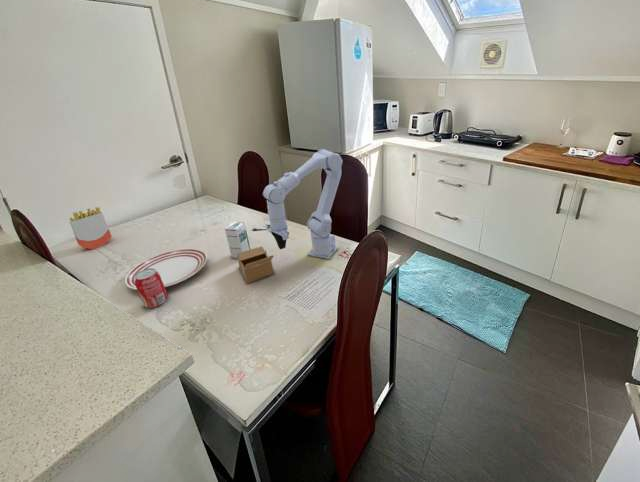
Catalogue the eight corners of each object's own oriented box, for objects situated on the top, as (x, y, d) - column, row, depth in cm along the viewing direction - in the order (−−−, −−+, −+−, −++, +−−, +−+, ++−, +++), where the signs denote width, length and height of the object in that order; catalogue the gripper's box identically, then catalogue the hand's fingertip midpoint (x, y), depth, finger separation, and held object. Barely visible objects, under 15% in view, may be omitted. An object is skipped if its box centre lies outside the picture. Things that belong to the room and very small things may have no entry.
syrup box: (243, 259, 130) (237, 228, 124) (231, 257, 131) (223, 227, 125) (251, 251, 135) (245, 222, 129) (239, 250, 136) (232, 221, 130)
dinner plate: (117, 276, 120) (114, 269, 119) (192, 246, 139) (190, 240, 138) (140, 308, 104) (137, 300, 103) (221, 269, 123) (219, 262, 122)
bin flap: (270, 259, 118) (271, 260, 118) (244, 268, 113) (244, 269, 113) (272, 255, 113) (273, 256, 113) (245, 264, 108) (245, 265, 108)
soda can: (151, 296, 110) (140, 267, 105) (172, 294, 110) (162, 266, 105) (139, 310, 103) (127, 281, 98) (161, 308, 104) (150, 279, 99)
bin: (273, 273, 121) (271, 259, 118) (247, 283, 116) (244, 268, 113) (264, 259, 129) (261, 246, 127) (239, 267, 124) (236, 253, 122)
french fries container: (80, 249, 139) (63, 212, 132) (109, 238, 147) (95, 203, 140) (84, 252, 137) (67, 215, 129) (113, 241, 145) (99, 206, 138)
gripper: (260, 212, 118) (266, 243, 124) (272, 227, 107) (278, 260, 113) (279, 207, 122) (283, 237, 127) (292, 221, 111) (296, 253, 116)
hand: (282, 247), depth 120 cm, fingers closed
